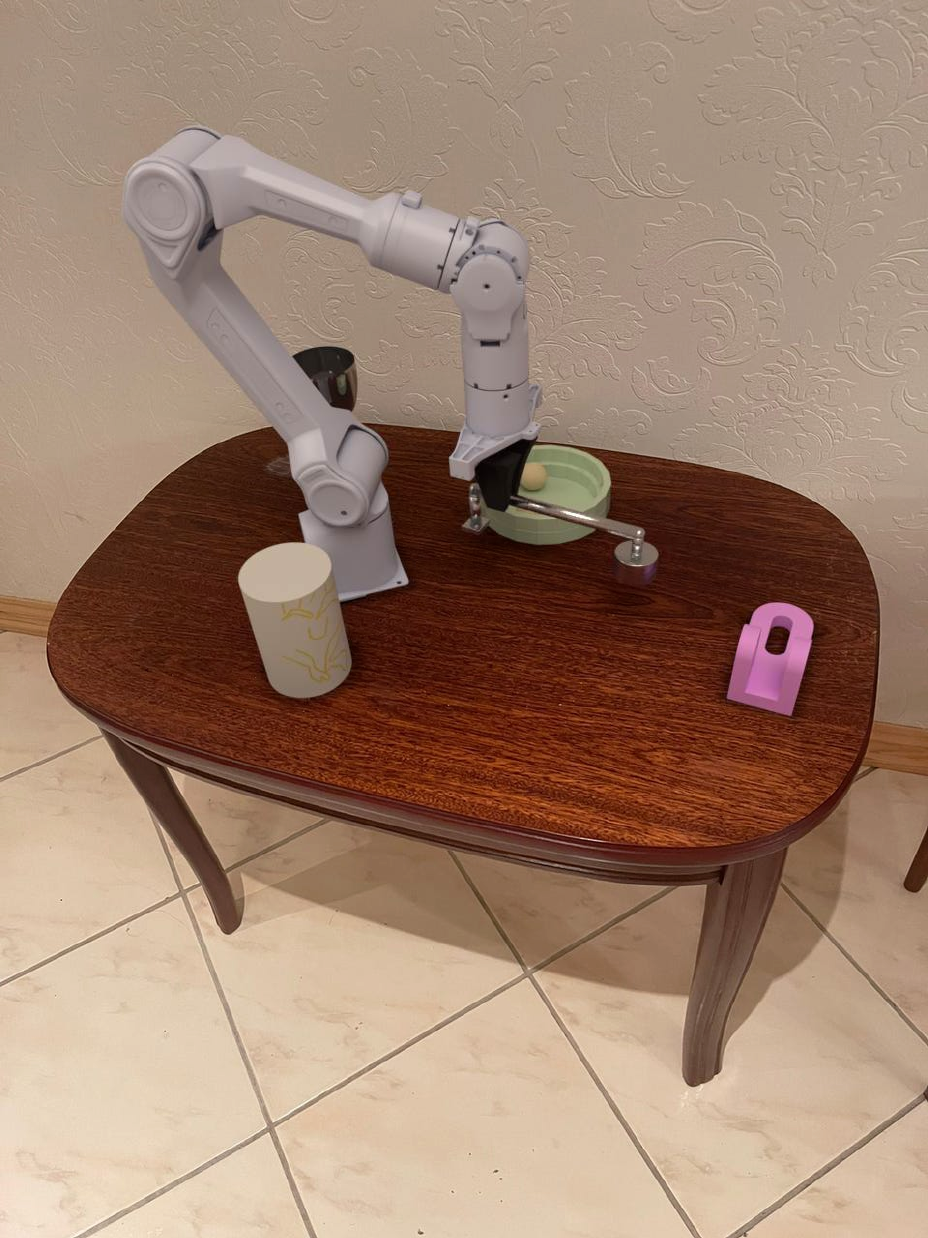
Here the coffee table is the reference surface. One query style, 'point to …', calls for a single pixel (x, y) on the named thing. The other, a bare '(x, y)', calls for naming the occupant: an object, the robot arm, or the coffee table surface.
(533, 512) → the dough ball
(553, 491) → the bowl
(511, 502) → the weighted chrome rod
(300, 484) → the robot arm
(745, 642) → the bracket
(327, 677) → the cream cylinder
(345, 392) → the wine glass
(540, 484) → the dough ball
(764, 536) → the coffee table surface
